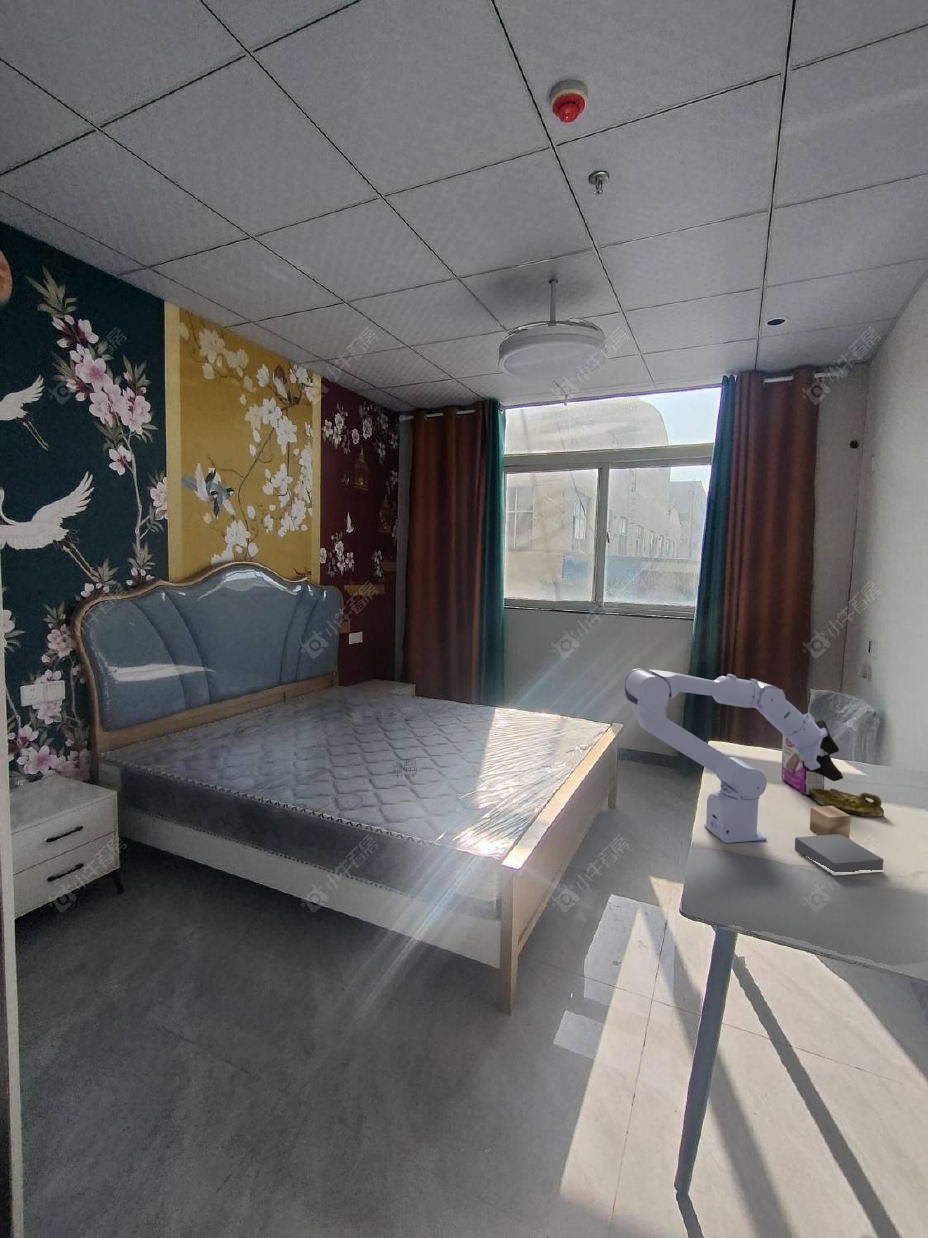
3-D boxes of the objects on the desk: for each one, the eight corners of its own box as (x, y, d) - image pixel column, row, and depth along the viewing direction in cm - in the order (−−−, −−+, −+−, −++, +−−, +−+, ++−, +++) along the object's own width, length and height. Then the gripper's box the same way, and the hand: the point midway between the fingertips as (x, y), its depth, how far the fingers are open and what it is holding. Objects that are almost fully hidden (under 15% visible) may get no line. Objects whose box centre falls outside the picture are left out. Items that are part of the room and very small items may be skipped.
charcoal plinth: (834, 876, 102) (834, 863, 101) (794, 849, 112) (795, 837, 111) (882, 872, 103) (883, 859, 103) (839, 845, 113) (840, 834, 113)
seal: (803, 805, 134) (880, 826, 123) (803, 787, 133) (881, 807, 122) (813, 788, 140) (887, 807, 130) (814, 771, 139) (888, 789, 129)
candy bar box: (779, 780, 148) (781, 719, 147) (799, 779, 148) (800, 719, 147) (804, 795, 137) (805, 729, 136) (825, 795, 137) (826, 729, 136)
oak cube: (827, 840, 115) (828, 817, 115) (809, 829, 120) (810, 807, 120) (849, 839, 116) (850, 815, 116) (830, 828, 121) (831, 805, 120)
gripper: (813, 742, 109) (859, 785, 110) (808, 693, 120) (850, 734, 121) (780, 754, 114) (825, 796, 115) (778, 707, 124) (819, 745, 126)
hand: (836, 765), depth 118 cm, fingers open, 7 cm apart
